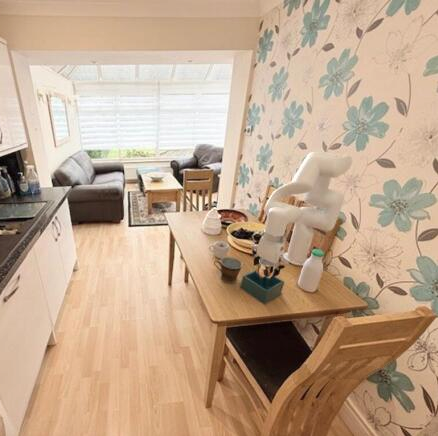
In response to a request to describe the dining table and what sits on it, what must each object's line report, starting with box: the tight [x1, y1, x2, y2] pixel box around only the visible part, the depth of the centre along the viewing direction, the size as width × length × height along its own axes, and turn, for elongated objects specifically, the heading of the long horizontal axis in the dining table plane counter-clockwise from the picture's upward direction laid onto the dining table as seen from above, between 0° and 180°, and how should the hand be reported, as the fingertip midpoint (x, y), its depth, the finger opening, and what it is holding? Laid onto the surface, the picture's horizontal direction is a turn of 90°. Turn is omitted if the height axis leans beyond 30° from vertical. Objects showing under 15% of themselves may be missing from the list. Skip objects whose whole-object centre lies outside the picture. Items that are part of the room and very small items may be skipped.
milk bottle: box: [297, 248, 325, 293], centre depth 110 cm, size 8×8×20 cm
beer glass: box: [256, 258, 276, 290], centre depth 109 cm, size 7×7×15 cm
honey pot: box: [201, 206, 223, 236], centre depth 166 cm, size 13×13×18 cm
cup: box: [208, 240, 230, 260], centre depth 138 cm, size 11×8×8 cm
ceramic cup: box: [213, 256, 243, 284], centre depth 118 cm, size 13×10×10 cm
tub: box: [240, 268, 285, 305], centre depth 111 cm, size 13×13×7 cm
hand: (265, 269), depth 107 cm, fingers open, 9 cm apart
